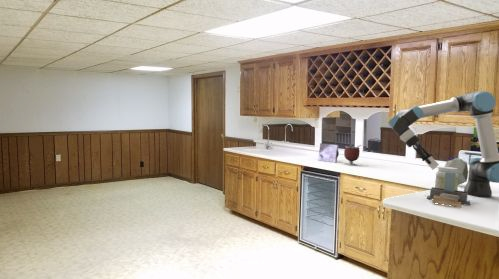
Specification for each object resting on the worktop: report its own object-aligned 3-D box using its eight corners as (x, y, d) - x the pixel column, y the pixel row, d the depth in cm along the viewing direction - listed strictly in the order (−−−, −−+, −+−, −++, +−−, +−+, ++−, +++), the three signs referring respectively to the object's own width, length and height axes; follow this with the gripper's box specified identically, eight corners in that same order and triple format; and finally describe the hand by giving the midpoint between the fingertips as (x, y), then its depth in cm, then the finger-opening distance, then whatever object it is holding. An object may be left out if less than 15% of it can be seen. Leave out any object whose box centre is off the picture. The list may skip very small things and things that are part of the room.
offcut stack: (433, 201, 210) (434, 191, 209) (460, 205, 203) (461, 195, 203) (432, 203, 203) (432, 193, 203) (460, 207, 197) (461, 197, 196)
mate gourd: (342, 165, 358) (344, 143, 357) (343, 163, 371) (345, 143, 370) (359, 166, 353) (361, 145, 352) (360, 165, 366) (362, 144, 365)
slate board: (443, 199, 216) (445, 171, 215) (453, 201, 213) (455, 172, 212) (442, 200, 213) (445, 172, 212) (452, 202, 211) (455, 173, 210)
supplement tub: (449, 194, 237) (452, 166, 236) (461, 198, 224) (464, 169, 223) (430, 192, 236) (432, 165, 235) (440, 197, 224) (443, 168, 223)
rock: (440, 181, 287) (442, 155, 286) (448, 182, 287) (450, 155, 286) (460, 188, 261) (463, 159, 259) (469, 189, 261) (472, 159, 260)
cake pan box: (338, 162, 378) (339, 144, 376) (336, 163, 373) (337, 145, 372) (319, 160, 388) (321, 143, 387) (318, 160, 383) (319, 143, 382)
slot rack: (428, 196, 222) (429, 186, 222) (469, 203, 211) (470, 192, 211) (426, 198, 216) (427, 188, 215) (469, 205, 205) (470, 194, 205)
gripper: (408, 142, 235) (432, 169, 228) (400, 143, 213) (427, 173, 206) (418, 134, 232) (443, 161, 225) (412, 134, 210) (439, 164, 203)
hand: (436, 167), depth 216 cm, fingers open, 13 cm apart
